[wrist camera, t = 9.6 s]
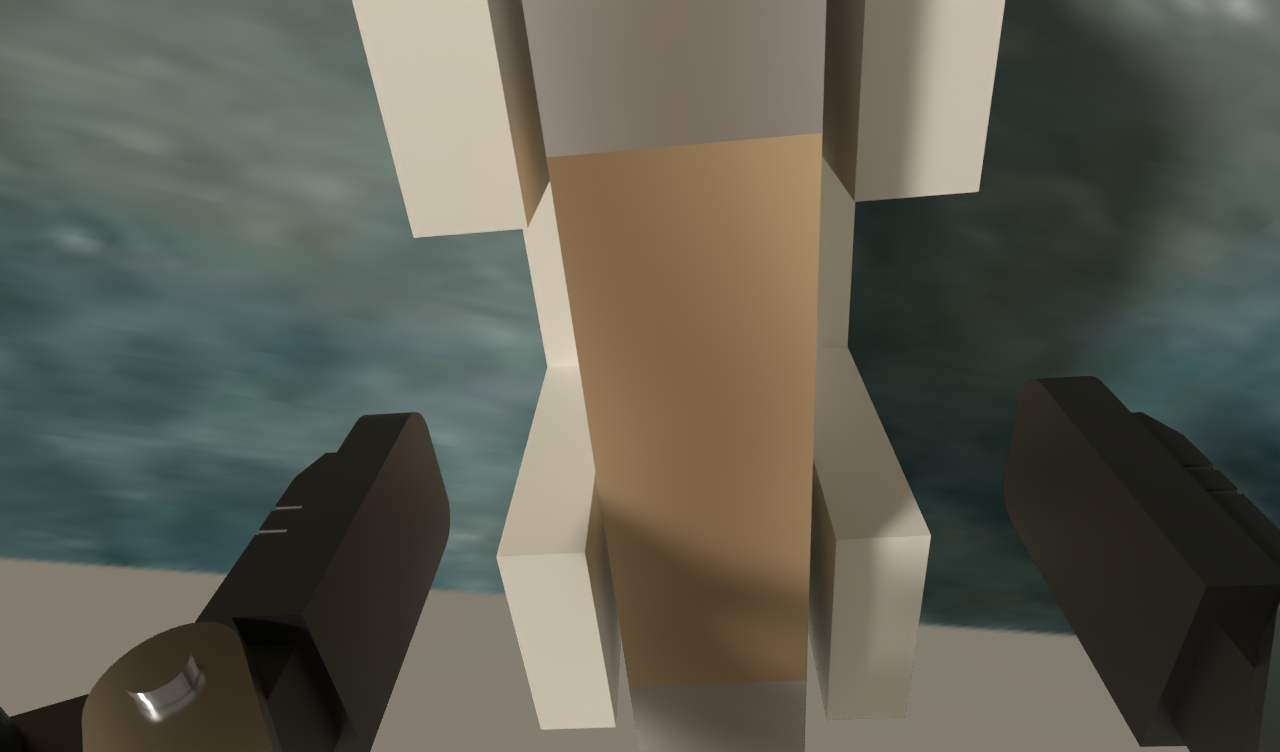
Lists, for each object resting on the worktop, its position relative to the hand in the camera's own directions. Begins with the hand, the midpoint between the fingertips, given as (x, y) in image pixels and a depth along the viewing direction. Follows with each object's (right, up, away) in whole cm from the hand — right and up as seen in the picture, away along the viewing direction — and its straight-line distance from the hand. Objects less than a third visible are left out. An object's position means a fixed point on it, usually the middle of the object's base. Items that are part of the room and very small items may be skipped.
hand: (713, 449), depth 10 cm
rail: (0, +2, +4) cm, 4 cm away
